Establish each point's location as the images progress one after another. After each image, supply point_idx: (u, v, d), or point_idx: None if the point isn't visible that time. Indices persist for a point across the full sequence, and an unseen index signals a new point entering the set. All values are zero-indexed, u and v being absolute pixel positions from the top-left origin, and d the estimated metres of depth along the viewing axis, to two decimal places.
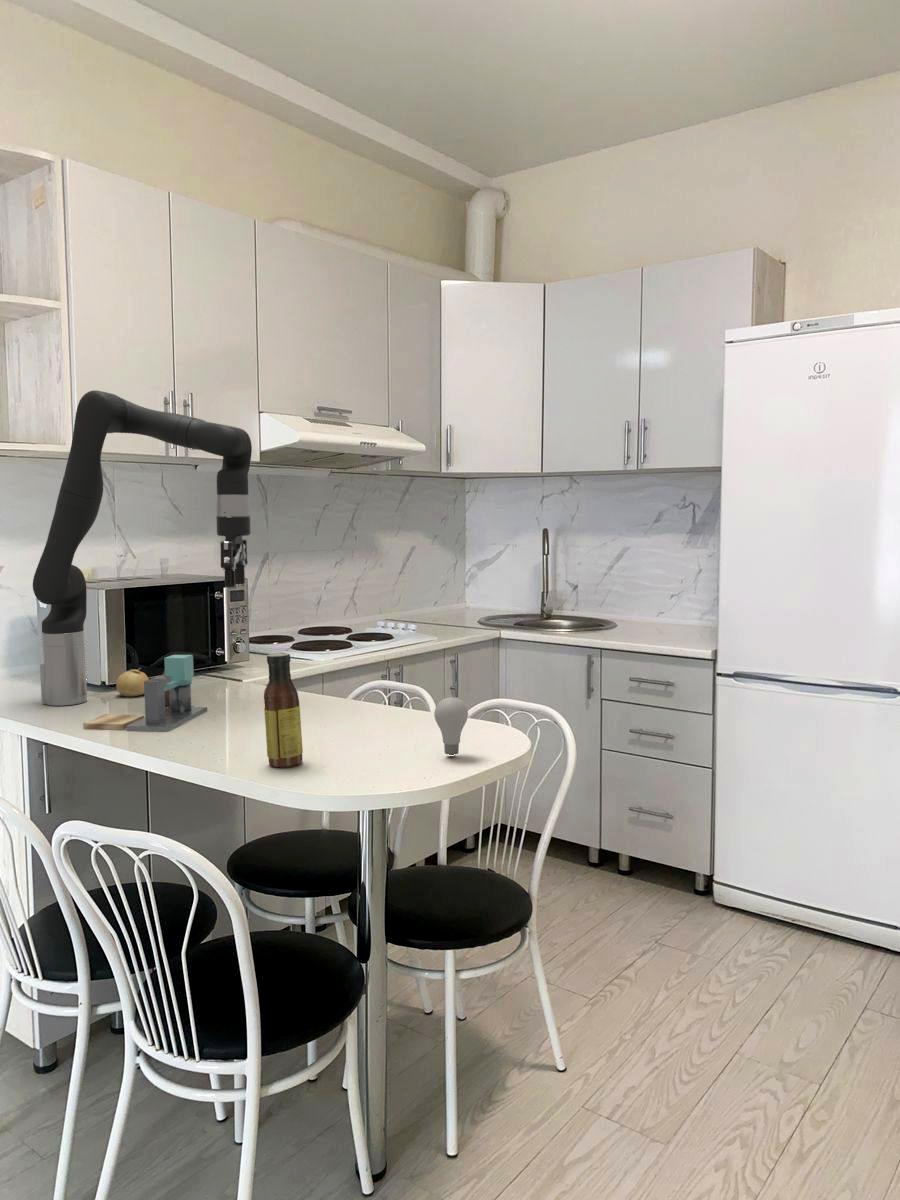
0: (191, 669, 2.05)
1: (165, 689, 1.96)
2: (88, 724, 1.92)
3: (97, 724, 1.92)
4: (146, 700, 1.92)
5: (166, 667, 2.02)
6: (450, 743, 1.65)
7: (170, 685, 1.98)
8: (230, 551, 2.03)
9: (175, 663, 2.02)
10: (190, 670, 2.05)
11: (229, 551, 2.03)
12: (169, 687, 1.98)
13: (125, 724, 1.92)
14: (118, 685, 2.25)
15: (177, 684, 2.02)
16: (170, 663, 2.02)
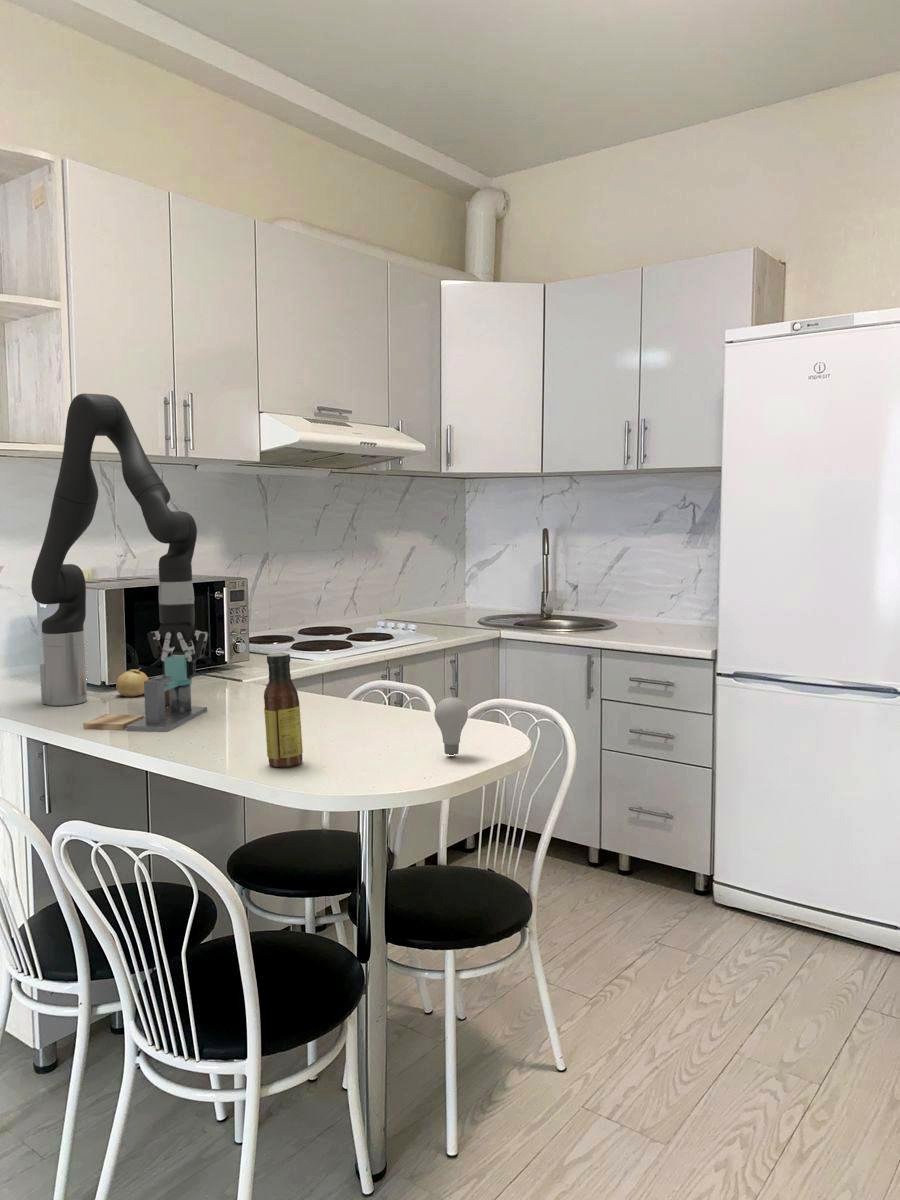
0: None
1: (165, 689, 1.96)
2: (88, 724, 1.92)
3: (97, 724, 1.92)
4: (146, 700, 1.92)
5: (166, 667, 2.02)
6: (450, 743, 1.65)
7: (170, 685, 1.98)
8: (206, 642, 2.04)
9: (175, 663, 2.02)
10: None
11: (206, 642, 2.04)
12: (169, 687, 1.98)
13: (125, 724, 1.92)
14: (118, 685, 2.25)
15: (177, 684, 2.02)
16: (170, 663, 2.02)
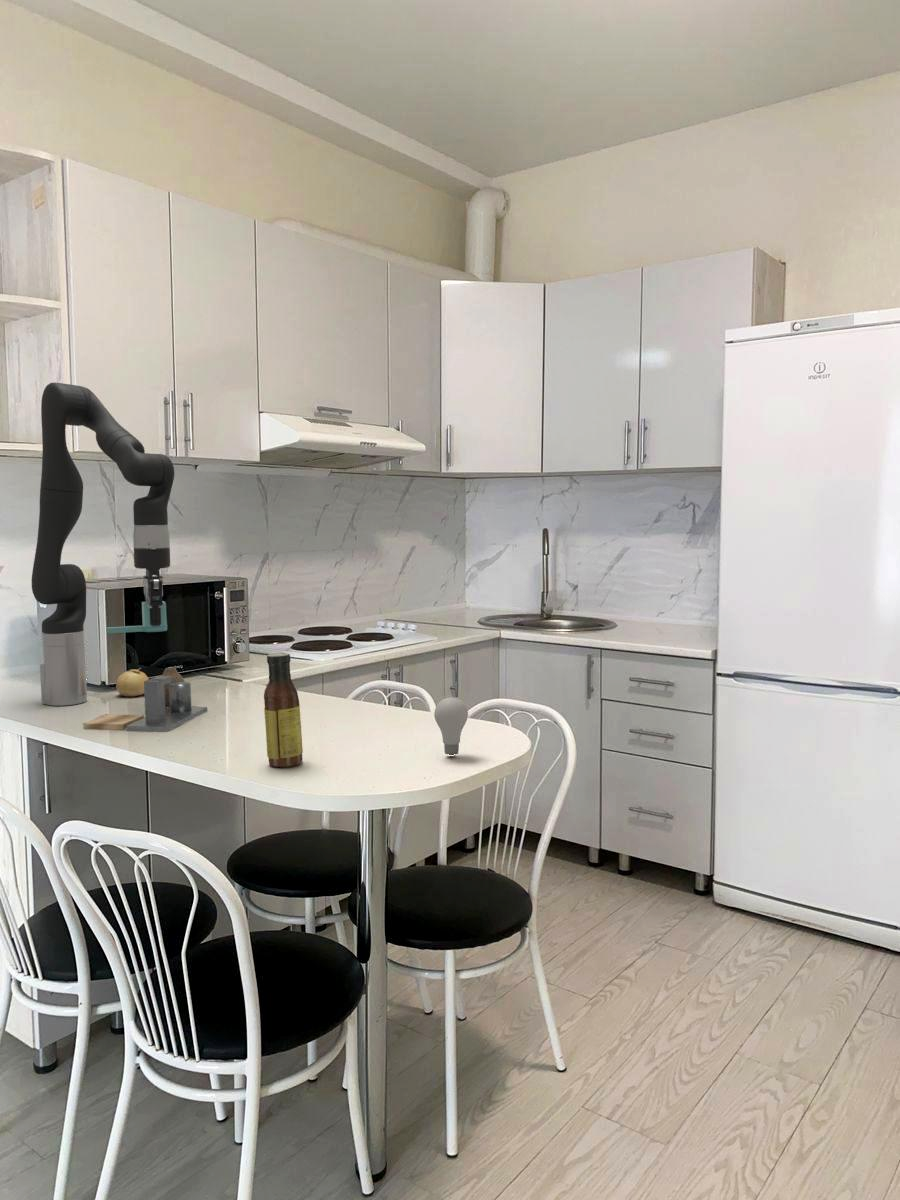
0: (161, 617, 1.99)
1: (112, 631, 1.96)
2: (88, 724, 1.92)
3: (97, 724, 1.92)
4: (146, 700, 1.92)
5: (142, 611, 2.01)
6: (450, 743, 1.65)
7: (124, 628, 1.97)
8: (161, 590, 1.94)
9: (143, 608, 1.99)
10: None
11: (160, 590, 1.94)
12: (121, 630, 1.97)
13: (125, 724, 1.92)
14: (118, 685, 2.25)
15: (140, 629, 1.99)
16: (142, 608, 2.00)
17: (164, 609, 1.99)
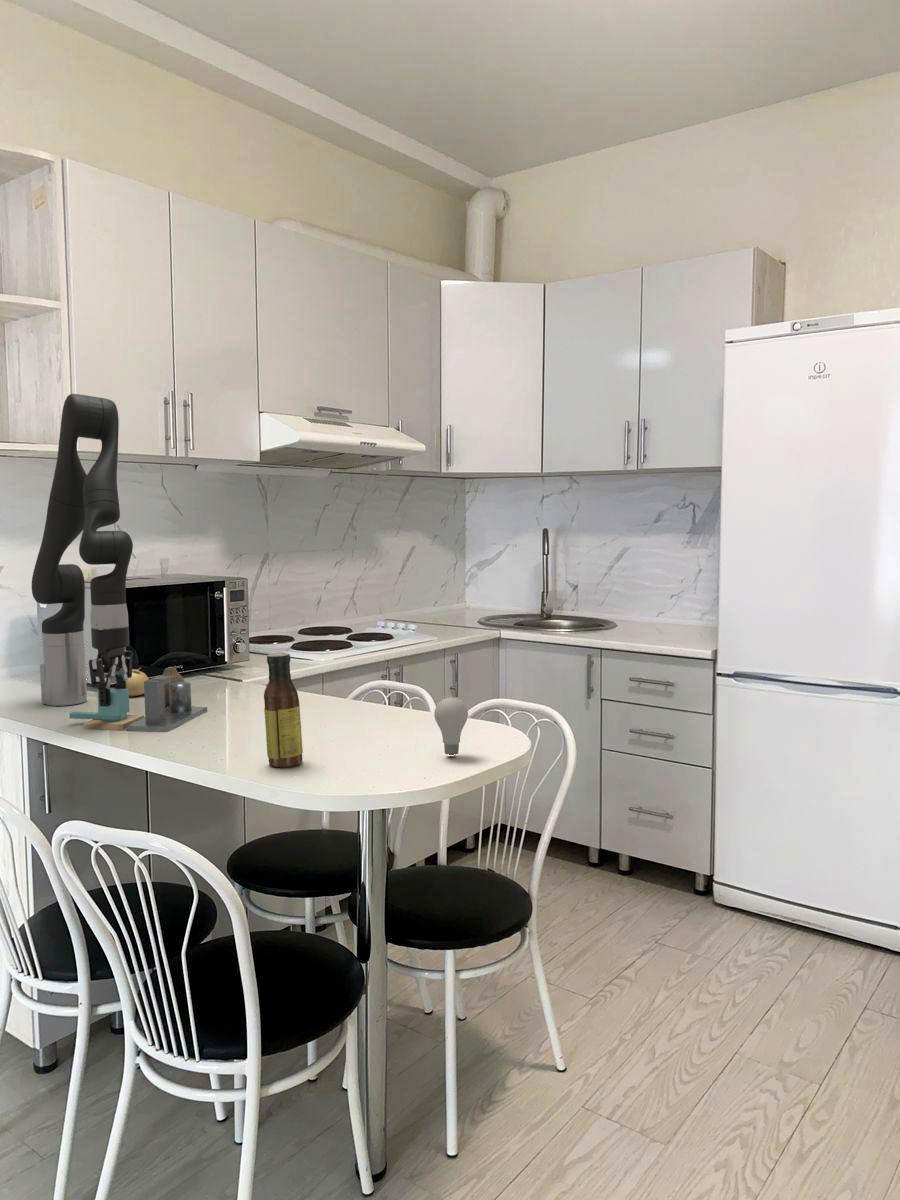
0: (113, 707, 1.93)
1: (73, 716, 1.96)
2: (88, 724, 1.92)
3: (97, 724, 1.92)
4: (146, 700, 1.92)
5: None
6: (450, 743, 1.65)
7: (84, 715, 1.96)
8: (99, 671, 1.88)
9: None
10: (111, 707, 1.93)
11: (98, 671, 1.88)
12: (82, 716, 1.96)
13: (125, 724, 1.92)
14: None
15: (98, 717, 1.96)
16: None
17: (116, 699, 1.93)
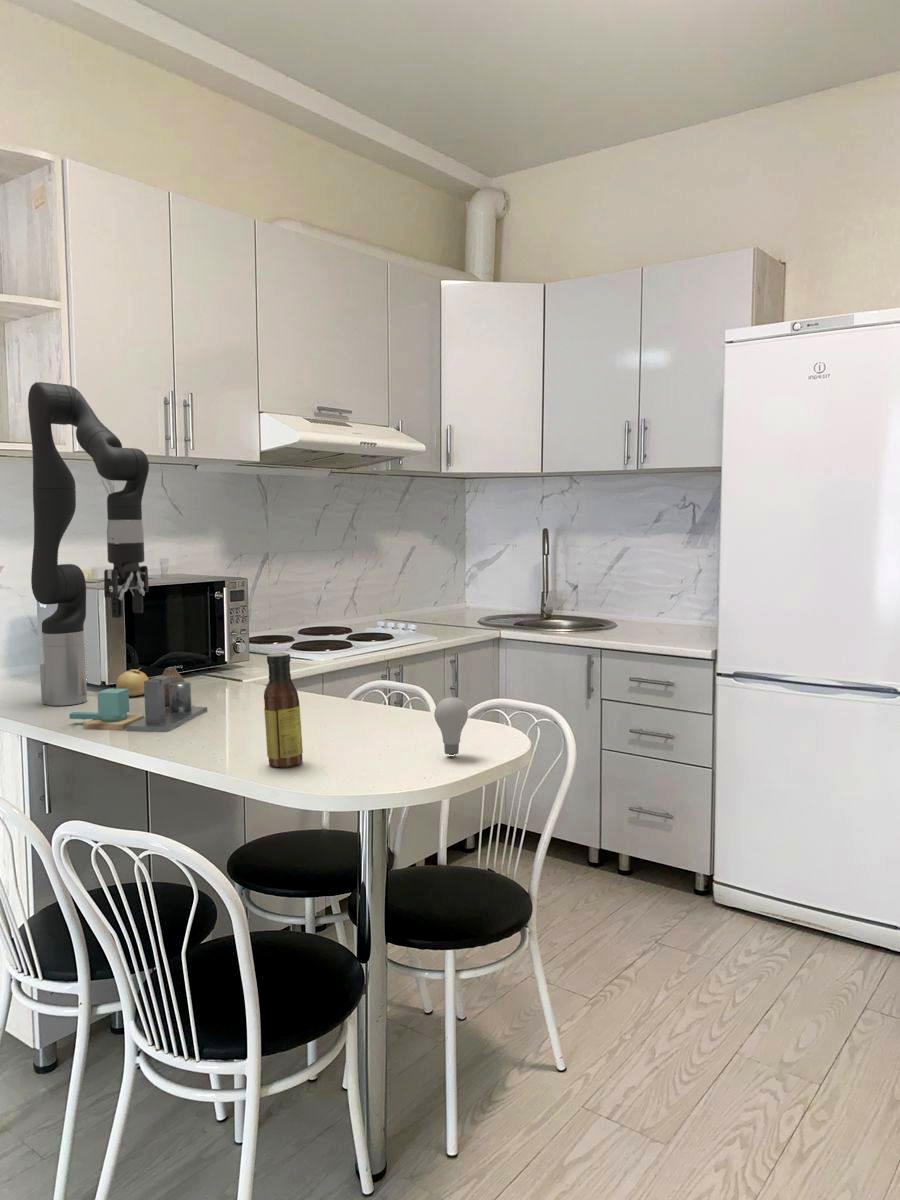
0: (113, 707, 1.93)
1: (73, 717, 1.96)
2: (88, 724, 1.92)
3: (97, 724, 1.92)
4: (146, 700, 1.92)
5: None
6: (450, 743, 1.65)
7: (84, 715, 1.96)
8: (113, 580, 1.92)
9: None
10: (111, 708, 1.93)
11: (112, 580, 1.92)
12: (82, 717, 1.96)
13: (125, 724, 1.92)
14: (118, 685, 2.25)
15: (98, 717, 1.96)
16: None
17: (116, 699, 1.93)
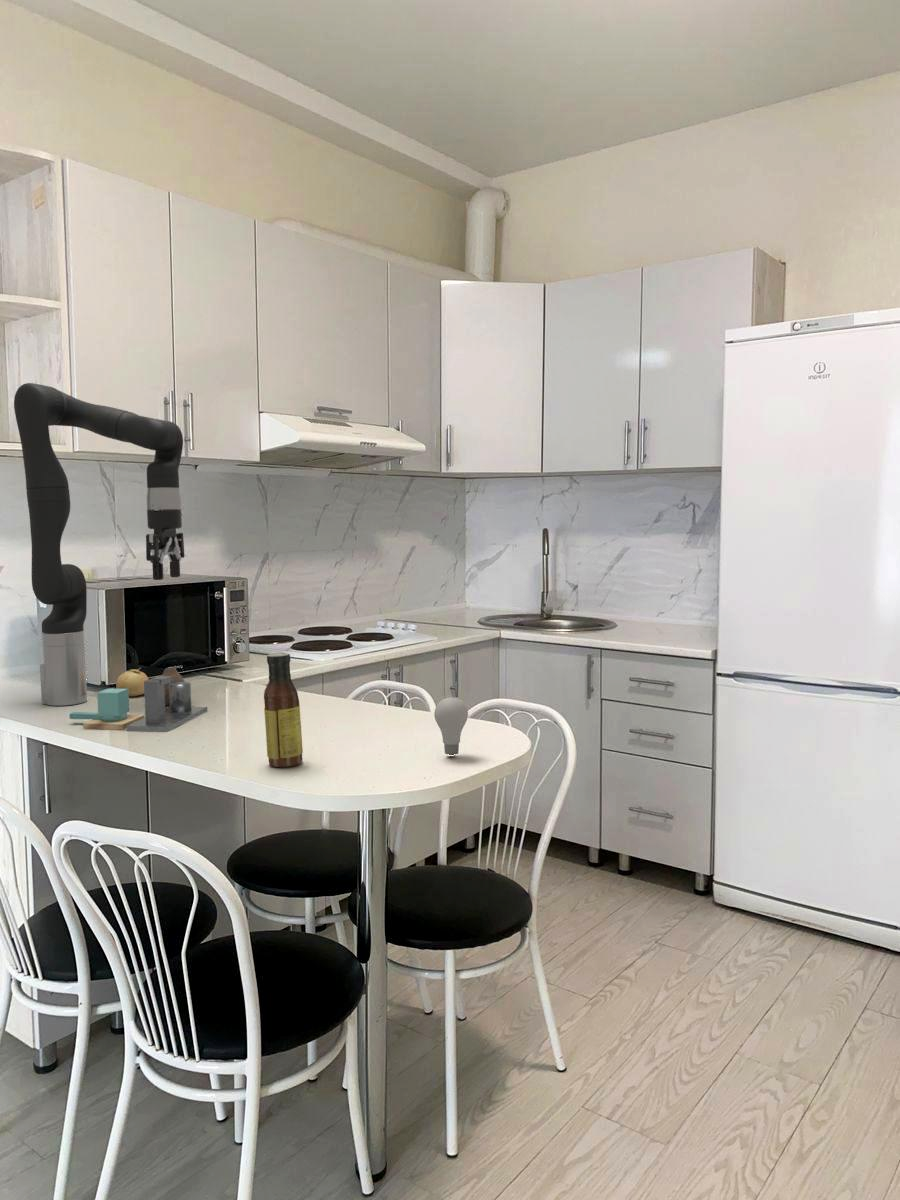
0: (113, 707, 1.93)
1: (73, 717, 1.96)
2: (88, 724, 1.92)
3: (97, 724, 1.92)
4: (146, 700, 1.92)
5: None
6: (450, 743, 1.65)
7: (84, 715, 1.96)
8: (155, 544, 2.04)
9: None
10: (111, 708, 1.93)
11: (154, 544, 2.04)
12: (82, 717, 1.96)
13: (125, 724, 1.92)
14: (118, 685, 2.25)
15: (98, 717, 1.96)
16: None
17: (116, 699, 1.93)
